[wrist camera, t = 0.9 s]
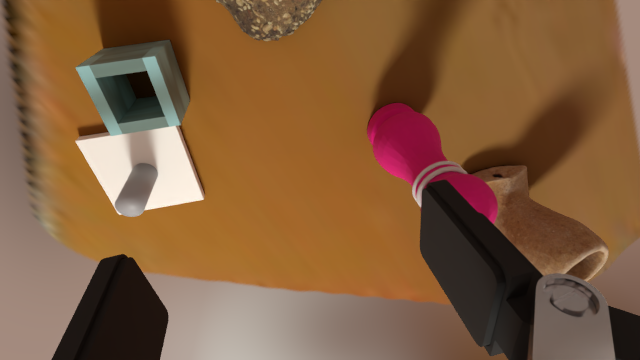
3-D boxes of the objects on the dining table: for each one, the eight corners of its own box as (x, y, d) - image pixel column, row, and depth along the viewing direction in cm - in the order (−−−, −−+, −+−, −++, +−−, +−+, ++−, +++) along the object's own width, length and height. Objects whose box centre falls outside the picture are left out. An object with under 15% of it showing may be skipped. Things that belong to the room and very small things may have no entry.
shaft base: (79, 136, 35) (46, 173, 29) (177, 121, 36) (163, 153, 30) (121, 209, 40) (100, 251, 35) (204, 194, 41) (197, 233, 36)
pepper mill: (365, 158, 43) (438, 286, 26) (359, 106, 38) (441, 220, 22) (420, 145, 43) (524, 263, 27) (420, 91, 39) (544, 194, 22)
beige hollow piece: (531, 216, 55) (611, 292, 43) (462, 242, 56) (522, 324, 43) (535, 142, 46) (638, 211, 34) (453, 174, 47) (525, 253, 35)
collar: (102, 48, 31) (75, 67, 26) (169, 39, 31) (155, 56, 26) (130, 109, 34) (111, 136, 29) (190, 100, 35) (180, 125, 30)
